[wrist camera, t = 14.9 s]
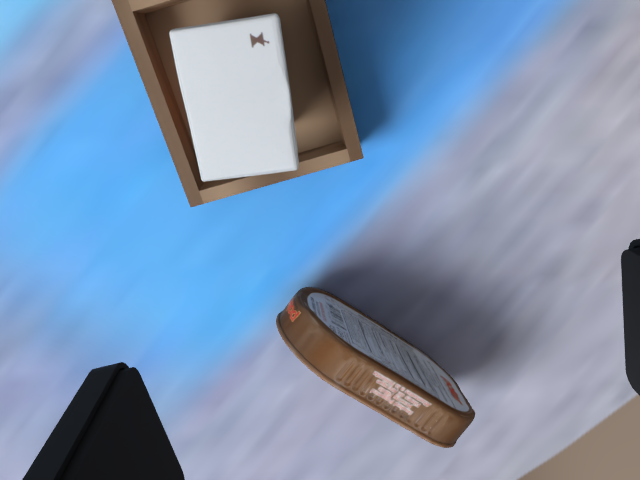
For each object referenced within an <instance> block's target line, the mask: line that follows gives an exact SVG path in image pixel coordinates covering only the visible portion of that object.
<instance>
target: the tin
mask: <svg viewBox="0 0 640 480" xmlns="http://www.w3.org/2000/svg"><path fill="white" fill-rule="evenodd" d="M276 324H277V328H278V331H279V333H280V335H281V337H282V339H283V340H284V341H285V343H286V345H287V346H288V347H289V348H290V350H291V351H292V352H293V353H294V354H295V356H296V357H297V358H298V359H299V360H300V361H301V362H302V363H303V364H305V365H306V366H307V367H308V368H309V369H310V370H311V371H312V372H314V373H315V374H316V375H317V376H319V377H320V378H321V379H322V380H324V381H326V382H327V383H329V384H330V385H332V386H333V387H335V388H337V389H338V390H340V391H342V392H343V393H345V394H347V395H349V396H350V397H352V398H354V399H356V400H357V401H359V402H361V403H362V404H364V405H366V406H368V407H369V408H371V409H373V410H374V411H376V412H378V413H380V414H382V415H383V416H385V417H387V418H388V419H390V420H392V421H394V422H395V423H397V424H399V425H400V426H402V427H403V428H405V429H407V430H409V431H411V432H412V433H414V434H416V435H417V436H419V437H421V438H422V439H424V440H426V441H428V442H430V443H432V444H434V445H437V446H440V447H444V448H449V447H453V446H454V445H455V443H456V441H457V439H458V438H459V437H460V435H461V434H462V433H463V432H464V431H465V430H466V428H467V427H468V426H469V425H470V424H471V422H472V421H473V419H474V417H475V411H474V410H473V409H472V407H471V406H470V404H469V402H468V401H467V399H466V398H465V396H464V395H463V393H462V392H461V390H460V388H459V386H458V385H457V383H456V382H455V381H454V379H453V378H452V377H451V376H450V375H449V374H448V373H447V372H446V371H445V370H444V369H443V368H441V367H440V366H439V365H438V364H437V363H436V362H435V361H433V360H432V359H431V358H430V357H428V356H427V355H426V354H424V353H423V352H422V351H420V350H419V349H417V348H416V347H414V346H413V345H411V344H410V343H408V342H407V341H405V340H404V339H402V338H401V337H399V336H397V335H396V334H394V333H393V332H391V331H390V330H388V329H387V328H385V327H384V326H382V325H381V324H379V323H377V322H376V321H374V320H373V319H371V318H369V317H368V316H366V315H365V314H363V313H362V312H360V311H358V310H357V309H355V308H354V307H352V306H350V305H349V304H347V303H346V302H344V301H342V300H341V299H339V298H337V297H335V296H333V295H332V294H330V293H328V292H325V291H323V290H320V289H317V288H313V287H305V288H302V289H301V290H299V291H298V292H297V293H296V294H295V296H294V297H293V298H292V299H291V301H290V302H289V303H288V305H287V306H286V308H285V309H284V310H283V311H282V312H280V313H279V314H278V316H277V319H276Z"/></svg>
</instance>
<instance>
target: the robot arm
mask: <svg viewBox="0 0 640 480" xmlns="http://www.w3.org/2000/svg"><path fill="white" fill-rule="evenodd" d="M621 268H622V292H623V316H624V339H625V363H626V374H627V377H628V380H629V382H630V384H631V386H632V388H633V389H634V390H635V391H636V392H637V393H638V394H639V395H640V239H636V240H633V241H632V242H631V243H630V245H629V249H628V250H625V251H624V252H623V253H622V256H621ZM23 480H185V479H184V474H183V471H182V469H181V466H180V464H179V462H178V460H177V457H176V455H175V453H174V450H173V448H172V446H171V444H170V441H169V439H168V437H167V434H166V432H165V430H164V428H163V425H162V423H161V421H160V419H159V416H158V414H157V412H156V409H155V407H154V405H153V403H152V400H151V398H150V396H149V393H148V391H147V389H146V387H145V384H144V382H143V380H142V377H141V375H140V373H139V371H138V370H137V369H136V368H134V367H132V368H129V367H128V366H127V365H126V364H125V363H123V362H121V363H117V364H113V365H108V366H104V367H100V368H96V369H92V370H91V371H90V373H89V374H88V376H87V377H86V379H85V380H84V382H83V384H82V385H81V387H80V388H79V390H78V392H77V393H76V395H75V396H74V398H73V400H72V401H71V403H70V404H69V406H68V408H67V409H66V411H65V412H64V414H63V416H62V417H61V419H60V420H59V422H58V424H57V425H56V427H55V428H54V430H53V432H52V433H51V435H50V436H49V438H48V440H47V441H46V443H45V444H44V446H43V448H42V449H41V451H40V452H39V454H38V456H37V457H36V459H35V460H34V462H33V464H32V465H31V467H30V468H29V470H28V472H27V473H26V475H25V476H24V478H23Z"/></svg>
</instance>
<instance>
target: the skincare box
mask: <svg viewBox="0 0 640 480" xmlns="http://www.w3.org/2000/svg"><path fill="white" fill-rule="evenodd" d="M169 35H170V39H171V44H172V49H173V54H174V59H175V65H176V70H177V74H178V79H179V84H180V88H181V92H182V97H183V101H184V105H185V109H186V113H187V117H188V121H189V125H190V130H191V135H192V139H193V144H194V148H195V153H196V157H197V161H198V166H199V170H200V175H201V180H202V181H204V182H205V181H213V180H222V179H230V178H239V177H247V176H255V175H264V174H272V173H279V172H287V171H295V170H297V169H298V167H299V160H298V150H297V141H296V133H295V125H294V116H293V107H292V98H291V91H290V84H289V77H288V70H287V63H286V57H285V50H284V44H283V37H282V30H281V23H280V18H279V16H278V15H277V14H275V13H273V14H267V15H261V16H255V17H248V18H242V19H235V20H229V21H222V22H215V23H209V24H202V25H196V26H189V27H183V28H176V29H172V30H171V31H170V32H169Z"/></svg>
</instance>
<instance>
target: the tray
mask: <svg viewBox="0 0 640 480" xmlns="http://www.w3.org/2000/svg"><path fill="white" fill-rule="evenodd" d="M112 2H113V5H114V8H115V10H116V13H117V16H118V18H119V21H120V23H121V26H122V29H123V31H124V34H125V36H126V39H127V42H128V44H129V47H130V50H131V52H132V55H133V57H134V60H135V63H136V65H137V68H138V71H139V73H140V76H141V78H142V81H143V84H144V86H145V89H146V91H147V94H148V97H149V99H150V102H151V105H152V107H153V110H154V112H155V115H156V118H157V120H158V123H159V126H160V128H161V131H162V133H163V136H164V139H165V141H166V144H167V146H168V149H169V152H170V154H171V157H172V160H173V162H174V165H175V167H176V170H177V173H178V175H179V178H180V181H181V183H182V186H183V188H184V191H185V194H186V196H187V199H188V201H189V204H190V207H194V206H197V205H201V204H204V203H208V202H211V201H215V200H218V199H222V198H225V197H229V196H232V195H236V194H239V193H243V192H246V191H250V190H253V189H257V188H260V187H264V186H267V185H271V184H274V183H278V182H281V181H285V180H288V179H292V178H295V177H299V176H302V175H306V174H310V173H313V172H317V171H320V170H324V169H327V168H331V167H334V166H338V165H341V164H345V163H348V162H352V161H355V160H359V159H362V158H363V154H362V149H361V145H360V141H359V137H358V133H357V129H356V125H355V121H354V117H353V113H352V108H351V104H350V100H349V96H348V92H347V88H346V84H345V80H344V76H343V72H342V68H341V63H340V59H339V55H338V51H337V47H336V43H335V39H334V35H333V31H332V27H331V23H330V18H329V14H328V10H327V6H326V2H325V0H112ZM273 13H275V14H277V15H278V16H279V18H280V23H281V30H282V37H283V44H284V50H285V57H286V63H287V70H288V77H289V84H290V91H291V98H292V107H293V116H294V125H295V133H296V141H297V150H298V160H299V167H298V169H297V170H295V171H287V172H279V173H272V174H264V175H255V176H247V177H239V178H230V179H222V180H213V181H205V182H204V181H202V180H201V175H200V170H199V166H198V161H197V157H196V153H195V148H194V144H193V139H192V135H191V130H190V125H189V121H188V117H187V113H186V109H185V105H184V101H183V97H182V92H181V88H180V84H179V79H178V74H177V70H176V65H175V59H174V54H173V49H172V44H171V39H170V35H169V32H170V31H171V30H172V29H176V28H183V27H189V26H196V25H202V24H209V23H215V22H222V21H229V20H235V19H242V18H248V17H255V16H261V15H267V14H273Z"/></svg>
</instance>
